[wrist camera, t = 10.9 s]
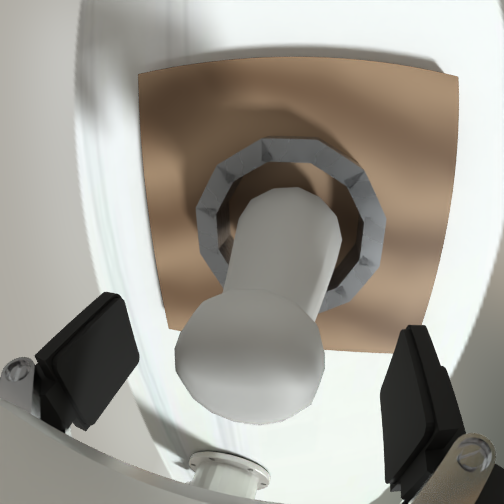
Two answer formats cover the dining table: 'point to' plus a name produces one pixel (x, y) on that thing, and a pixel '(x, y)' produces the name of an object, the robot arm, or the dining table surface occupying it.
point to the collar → (298, 151)
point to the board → (306, 172)
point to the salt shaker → (265, 313)
